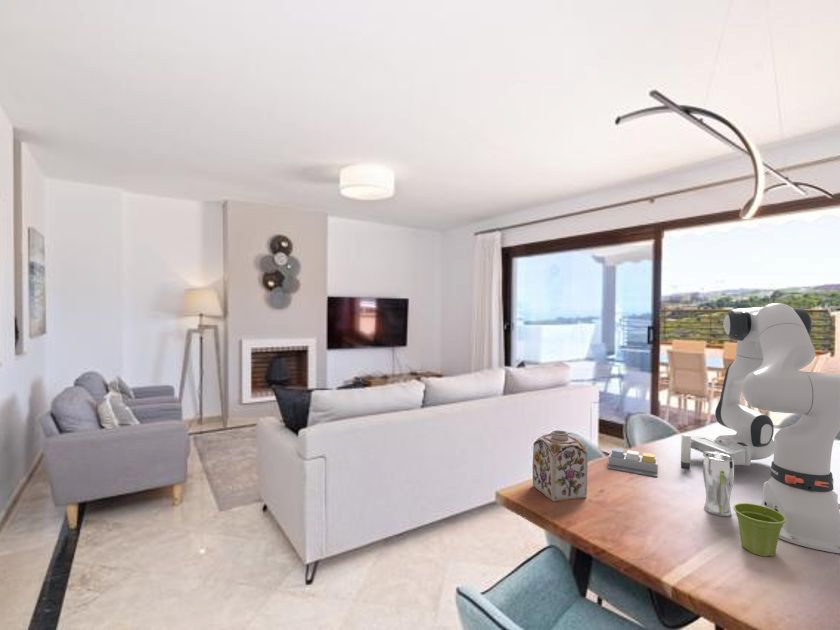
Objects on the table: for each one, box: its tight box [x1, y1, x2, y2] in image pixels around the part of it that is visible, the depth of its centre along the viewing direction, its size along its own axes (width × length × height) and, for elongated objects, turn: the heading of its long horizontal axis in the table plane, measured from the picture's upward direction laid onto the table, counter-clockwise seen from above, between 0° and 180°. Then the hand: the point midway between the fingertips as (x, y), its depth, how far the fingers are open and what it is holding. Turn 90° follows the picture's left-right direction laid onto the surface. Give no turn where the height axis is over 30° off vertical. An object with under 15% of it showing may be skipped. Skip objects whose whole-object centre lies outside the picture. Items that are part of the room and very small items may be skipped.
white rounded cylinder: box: [680, 434, 692, 470], centre depth 150 cm, size 3×3×11 cm
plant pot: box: [733, 502, 786, 557], centre depth 99 cm, size 9×9×9 cm
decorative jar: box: [532, 429, 589, 502], centre depth 129 cm, size 12×12×18 cm
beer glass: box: [702, 453, 735, 517], centre depth 117 cm, size 7×7×15 cm
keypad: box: [607, 451, 659, 478], centre depth 150 cm, size 13×15×3 cm
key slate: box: [611, 447, 625, 459], centre depth 152 cm, size 4×4×3 cm
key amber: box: [642, 452, 656, 464], centre depth 148 cm, size 4×4×3 cm
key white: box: [626, 449, 640, 461], centre depth 150 cm, size 4×4×3 cm
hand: (693, 449), depth 151 cm, fingers open, 8 cm apart
